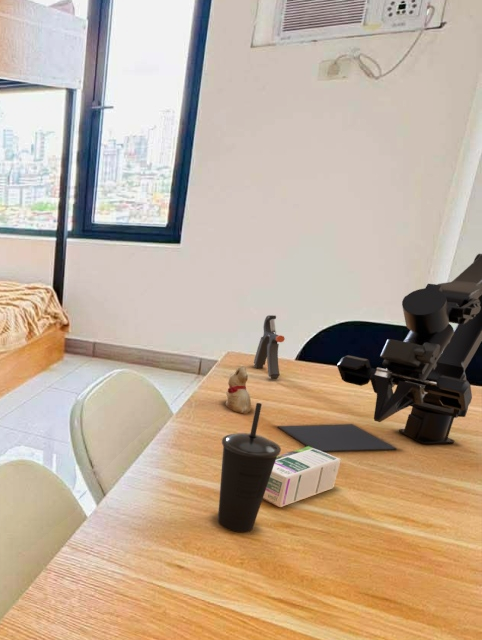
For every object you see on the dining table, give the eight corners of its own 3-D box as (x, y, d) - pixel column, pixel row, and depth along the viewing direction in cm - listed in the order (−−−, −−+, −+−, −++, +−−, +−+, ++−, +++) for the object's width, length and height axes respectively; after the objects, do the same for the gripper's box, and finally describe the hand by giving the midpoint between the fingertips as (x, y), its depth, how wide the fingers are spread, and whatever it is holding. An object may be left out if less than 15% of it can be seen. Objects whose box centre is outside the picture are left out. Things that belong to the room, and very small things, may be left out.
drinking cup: (258, 515, 99) (283, 397, 92) (267, 541, 92) (295, 416, 86) (205, 508, 102) (226, 392, 95) (210, 532, 95) (233, 410, 88)
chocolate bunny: (252, 403, 145) (260, 362, 141) (249, 414, 138) (257, 372, 135) (225, 399, 147) (232, 359, 144) (221, 410, 141) (228, 368, 138)
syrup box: (342, 458, 105) (286, 475, 99) (334, 489, 107) (278, 508, 101) (308, 445, 110) (253, 461, 104) (301, 475, 112) (246, 492, 106)
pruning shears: (270, 381, 159) (281, 323, 154) (252, 366, 171) (262, 312, 166) (279, 381, 159) (291, 323, 154) (261, 366, 171) (271, 312, 165)
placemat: (351, 425, 132) (352, 424, 132) (396, 449, 121) (396, 448, 121) (277, 427, 132) (277, 426, 132) (315, 452, 120) (315, 450, 120)
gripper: (354, 312, 113) (309, 381, 111) (486, 333, 98) (437, 413, 97) (364, 346, 120) (322, 412, 118) (490, 371, 105) (444, 447, 103)
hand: (376, 420), depth 109 cm, fingers closed
